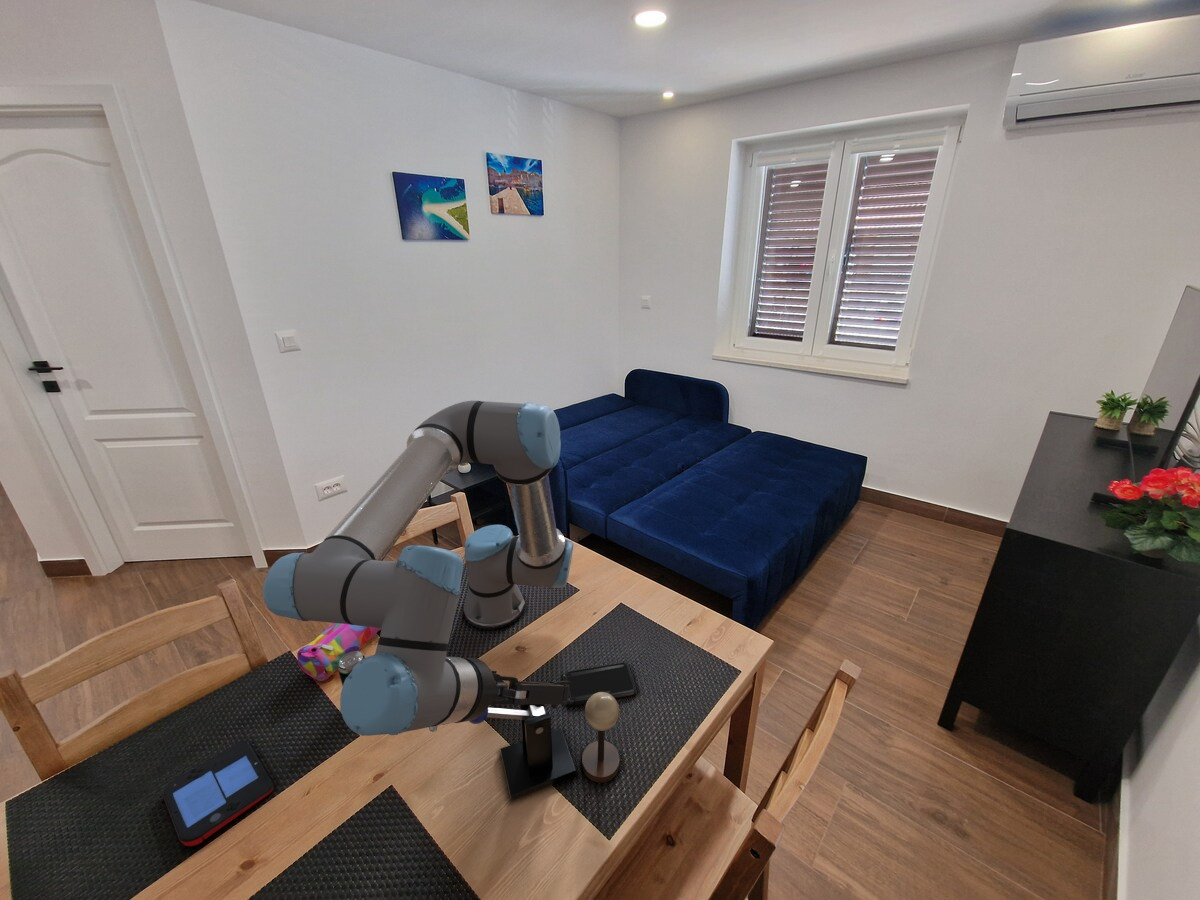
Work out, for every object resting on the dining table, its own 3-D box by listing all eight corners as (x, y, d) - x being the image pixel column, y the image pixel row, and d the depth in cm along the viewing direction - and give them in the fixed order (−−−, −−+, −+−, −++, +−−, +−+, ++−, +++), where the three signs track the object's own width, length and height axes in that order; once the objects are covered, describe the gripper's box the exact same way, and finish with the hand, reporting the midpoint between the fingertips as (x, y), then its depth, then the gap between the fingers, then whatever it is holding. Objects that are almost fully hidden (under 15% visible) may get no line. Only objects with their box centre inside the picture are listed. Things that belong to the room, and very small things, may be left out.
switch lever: (463, 728, 77) (473, 711, 77) (460, 709, 80) (470, 693, 80) (540, 733, 84) (549, 717, 84) (534, 715, 87) (543, 700, 87)
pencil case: (328, 692, 103) (319, 661, 100) (296, 679, 106) (286, 648, 103) (400, 623, 122) (394, 594, 119) (370, 613, 125) (364, 585, 121)
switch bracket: (510, 800, 84) (505, 743, 78) (500, 753, 92) (495, 698, 86) (576, 775, 88) (575, 719, 82) (561, 732, 96) (560, 678, 90)
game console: (276, 791, 85) (273, 783, 84) (186, 857, 76) (181, 848, 75) (247, 741, 93) (244, 733, 92) (163, 794, 84) (158, 786, 83)
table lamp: (576, 752, 92) (576, 688, 85) (610, 740, 95) (612, 677, 88) (589, 788, 86) (590, 722, 79) (625, 774, 89) (629, 709, 82)
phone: (562, 672, 108) (627, 661, 111) (562, 676, 108) (627, 665, 111) (567, 703, 100) (637, 690, 103) (568, 707, 101) (637, 694, 104)
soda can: (380, 697, 103) (370, 654, 98) (360, 716, 98) (348, 673, 94) (363, 688, 104) (352, 646, 100) (342, 706, 100) (330, 664, 95)
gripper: (368, 708, 64) (460, 699, 82) (538, 740, 56) (598, 722, 74) (384, 647, 67) (469, 652, 85) (547, 668, 58) (603, 668, 77)
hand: (529, 684), depth 80 cm, fingers open, 13 cm apart
